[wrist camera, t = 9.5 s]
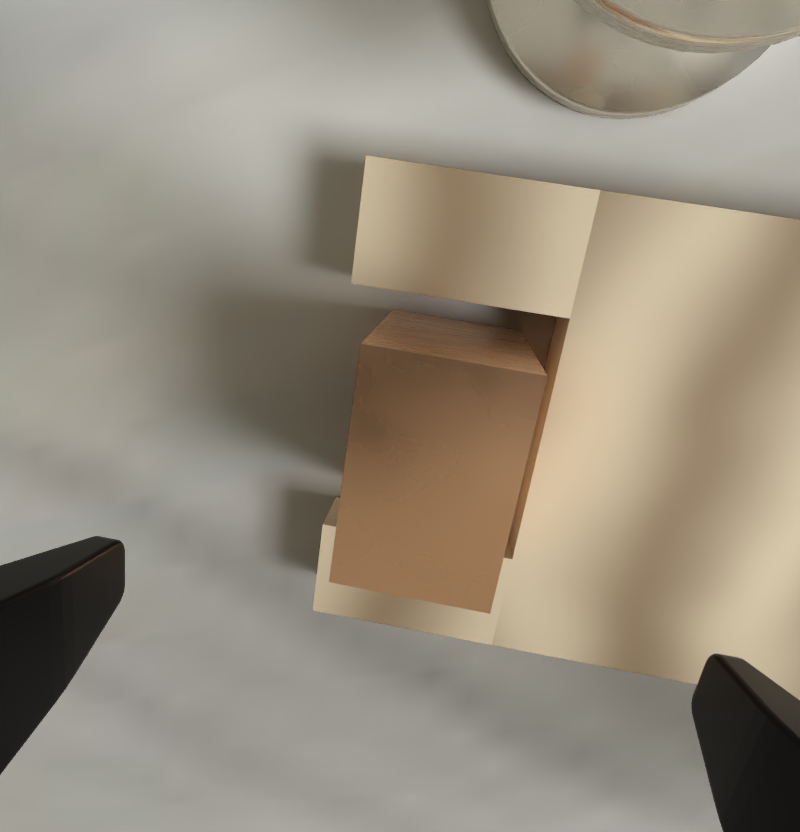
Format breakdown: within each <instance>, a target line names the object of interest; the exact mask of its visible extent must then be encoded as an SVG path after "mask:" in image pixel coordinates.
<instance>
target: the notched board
mask: <svg viewBox="0 0 800 832" xmlns="http://www.w3.org/2000/svg"><path fill="white" fill-rule="evenodd" d="M351 284H357V285H364V286H370V287H376V288H382V289H388V290H395V291H401V292H407V293H413V294H419V295H426V296H432V297H438V298H444V299H451V300H457V301H463V302H469V303H475V304H482V305H488V306H494V307H500V308H506V309H513V310H519V311H525V312H531V313H538V314H544V315H550V316H556V321H555V326H554V330H553V334H552V339H551V343H550V347H549V352H548V356H547V360H546V365H545V369H544V371H545V373H546V374H547V380H546V384H545V389H544V393H543V397H542V401H541V405H540V409H539V413H538V418H537V422H536V426H535V430H534V434H533V438H532V442H531V447H530V451H529V455H528V459H527V463H526V467H525V471H524V476H523V480H522V484H521V488H520V492H519V496H518V500H517V505H516V509H515V513H514V517H513V521H512V525H511V529H510V534H509V538H508V542H507V546H506V550H505V554H504V558H503V563H502V567H501V571H500V575H499V579H498V583H497V588H496V592H495V596H494V600H493V604H492V608H491V612H490V614H488V613H483V612H478V611H473V610H468V609H463V608H458V607H453V606H448V605H443V604H437V603H432V602H427V601H422V600H417V599H412V598H407V597H402V596H397V595H392V594H387V593H381V592H376V591H371V590H366V589H361V588H356V587H351V586H346V585H341V584H336V583H331V582H329V577H330V569H331V562H332V554H333V547H334V539H335V532H336V524H337V517H338V509H339V502H340V497H336V498H335V500H334V502H333V504H332V506H331V508H330V510H329V512H328V514H327V517H326V519H325V521H324V523H323V526H322V535H321V543H320V552H319V560H318V569H317V578H316V586H315V595H314V603H313V611H318V612H324V613H329V614H334V615H339V616H344V617H349V618H355V619H360V620H365V621H370V622H375V623H380V624H386V625H391V626H396V627H401V628H406V629H412V630H417V631H422V632H427V633H432V634H437V635H443V636H448V637H453V638H458V639H463V640H468V641H474V642H479V643H484V644H489V645H494V646H499V647H505V648H510V649H515V650H520V651H525V652H531V653H536V654H541V655H546V656H551V657H556V658H562V659H567V660H572V661H577V662H582V663H587V664H593V665H598V666H603V667H608V668H613V669H618V670H624V671H629V672H634V673H639V674H644V675H650V676H655V677H660V678H665V679H670V680H675V681H681V682H686V683H691V684H696V685H697V684H698V681H699V678H700V676H701V673H702V670H703V668H704V665H705V663H706V661H707V659H708V657H709V656H710V655H712V654H715V653H717V654H723V655H728V656H734V657H739V658H741V659H744V660H745V661H747V662H748V663H749V664H751V665H752V666H754V667H755V668H756V669H758V670H759V671H760V672H762V673H763V674H765V675H766V676H767V677H769V678H770V679H771V680H773V681H774V682H775V683H777V684H778V685H780V686H781V687H782V688H784V689H785V690H786V691H788V692H789V693H791V694H792V695H793V696H795V697H796V698H797V699H799V700H800V220H798V219H791V218H785V217H778V216H771V215H765V214H758V213H751V212H744V211H738V210H731V209H724V208H717V207H711V206H704V205H697V204H690V203H684V202H677V201H670V200H663V199H657V198H650V197H643V196H636V195H630V194H623V193H616V192H609V191H603V190H596V189H589V188H582V187H576V186H569V185H562V184H556V183H549V182H542V181H535V180H529V179H522V178H515V177H508V176H502V175H495V174H488V173H481V172H475V171H468V170H461V169H454V168H448V167H441V166H434V165H427V164H421V163H414V162H407V161H400V160H394V159H387V158H380V157H373V156H367V155H366V159H365V168H364V176H363V185H362V193H361V202H360V211H359V219H358V228H357V236H356V245H355V253H354V262H353V270H352V279H351Z"/></svg>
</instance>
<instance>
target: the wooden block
mask: <svg viewBox="0 0 800 832" xmlns="http://www.w3.org/2000/svg"><path fill="white" fill-rule="evenodd" d="M546 380H547V374H546V373H545V371H544V369H543V367H542V366H541V364H540V362H539V361H538V359H537V357H536V356H535V354H534V352H533V351H532V349H531V347H530V346H529V344H528V342H527V341H526V339H525V337H524V336H523V334H522V332H521V331H518V330H512V329H506V328H500V327H494V326H488V325H482V324H476V323H471V322H465V321H459V320H453V319H447V318H441V317H435V316H429V315H423V314H418V313H412V312H406V311H400V310H394V309H393V310H392V311H391V312H390V313H389V314H388V315H387V316H386V317H385V318H384V319H383V320H382V322H381V323H380V324H379V325H378V326H377V327H376V328H375V329H374V330H373V331H372V332H371V333H370V334H369V335H368V336H367V337H366V338H365V339H364V341H363V342H362V343H361V345H360V352H359V360H358V367H357V375H356V382H355V390H354V397H353V405H352V412H351V420H350V427H349V435H348V442H347V450H346V457H345V465H344V472H343V479H342V487H341V494H340V502H339V509H338V517H337V524H336V532H335V539H334V547H333V554H332V562H331V569H330V577H329V582H331V583H336V584H341V585H346V586H351V587H356V588H361V589H366V590H371V591H376V592H381V593H387V594H392V595H397V596H402V597H407V598H412V599H417V600H422V601H427V602H432V603H437V604H443V605H448V606H453V607H458V608H463V609H468V610H473V611H478V612H483V613H488V614H490V612H491V608H492V604H493V600H494V596H495V592H496V588H497V583H498V579H499V575H500V571H501V567H502V563H503V558H504V554H505V550H506V546H507V542H508V538H509V534H510V529H511V525H512V521H513V517H514V513H515V509H516V505H517V500H518V496H519V492H520V488H521V484H522V480H523V476H524V471H525V467H526V463H527V459H528V455H529V451H530V447H531V442H532V438H533V434H534V430H535V426H536V422H537V418H538V413H539V409H540V405H541V401H542V397H543V393H544V389H545V384H546Z"/></svg>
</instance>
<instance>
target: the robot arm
mask: <svg viewBox="0 0 800 832" xmlns="http://www.w3.org/2000/svg"><path fill="white" fill-rule="evenodd" d="M124 588H125V549H124V545H123V543H122V542H121V541H120V540H116V539H110V538H105V537H100V536H94V537H91V538H87V539H84V540H81V541H78V542H75V543H71V544H68V545H65V546H62V547H59V548H55V549H52V550H49V551H46V552H42V553H39V554H36V555H33V556H30V557H26V558H23V559H20V560H17V561H14V562H10V563H7V564H4V565H1V566H0V774H1V773H2V772H3V771H4V769H5V768H6V767H7V765H8V764H9V763H10V761H11V760H12V759H13V757H14V756H15V755H16V754H17V752H18V751H19V750H20V748H21V747H22V746H23V744H24V743H25V742H26V740H27V739H28V738H29V737H30V735H31V734H32V733H33V731H34V730H35V729H36V727H37V726H38V725H39V723H40V722H41V721H42V720H43V718H44V717H45V716H46V714H47V713H48V712H49V710H50V709H51V708H52V706H53V705H54V704H55V703H56V701H57V700H58V698H59V697H60V696H61V694H62V693H63V692H64V690H65V689H66V687H67V686H68V684H69V683H70V681H71V680H72V678H73V677H74V675H75V674H76V672H77V671H78V669H79V667H80V666H81V664H82V662H83V661H84V659H85V658H86V656H87V654H88V653H89V651H90V650H91V648H92V646H93V645H94V643H95V641H96V640H97V638H98V637H99V635H100V633H101V632H102V630H103V629H104V627H105V625H106V624H107V622H108V620H109V619H110V617H111V616H112V614H113V612H114V611H115V609H116V608H117V606H118V604H119V603H120V601H121V598H122V596H123V593H124ZM692 714H693V719H694V723H695V727H696V731H697V735H698V739H699V743H700V747H701V751H702V755H703V759H704V762H705V766H706V770H707V774H708V778H709V782H710V786H711V790H712V794H713V798H714V802H715V806H716V809H717V813H718V816H719V820H720V823H721V826H722V829H723V832H800V700H799V699H797V698H796V697H795V696H793V695H792V694H791V693H789V692H788V691H786V690H785V689H784V688H782V687H781V686H780V685H778V684H777V683H775V682H774V681H773V680H771V679H770V678H769V677H767V676H766V675H765V674H763V673H762V672H760V671H759V670H758V669H756V668H755V667H754V666H752V665H751V664H749V663H748V662H747V661H745V660H744V659H741V658H739V657H734V656H728V655H723V654H717V653H715V654H712V655H710V656H709V657H708V659H707V661H706V663H705V665H704V668H703V670H702V673H701V676H700V678H699V681H698V684H697V686H696V689H695V691H694V694H693V697H692Z"/></svg>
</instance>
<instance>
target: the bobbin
mask: <svg viewBox="0 0 800 832" xmlns="http://www.w3.org/2000/svg"><path fill="white" fill-rule="evenodd" d="M487 2H488V6H489V10H490V15H491V18H492V20H493V23H494V26H495V28H496V31H497V34H498V36H499V38H500V40H501V42H502V44H503V46H504V48H505V50H506V51H507V53H508V55H509V56H510V58H511V59H512V61H513V62H514V63H515V65H516V66H517V68H518V69H519V70H520V72H521V73H522V74H523V75H524V76H525V77H526V78H527V79H528V80H529V81H530V82H531V83H532V84H533V85H534V86H535V87H536V88H538V89H539V90H540V91H542V92H543V93H544V94H545V95H547V96H548V97H549V98H551V99H553V100H555V101H556V102H558V103H560V104H562V105H564V106H565V107H568V108H570V109H573V110H576V111H578V112H581V113H584V114H588V115H593V116H597V117H602V118H615V119H629V118H643V117H647V116H652V115H657V114H662V113H665V112H668V111H670V110H673V109H676V108H679V107H682V106H684V105H686V104H688V103H690V102H692V101H694V100H696V99H698V98H700V97H702V96H704V95H706V94H708V93H709V92H711V91H713V90H715V89H716V88H718V87H720V86H721V85H723V84H724V83H726V82H727V81H729V80H730V79H732V78H733V77H735V76H736V75H738V74H739V73H741V72H742V71H743V70H744V69H745V68H747V67H748V66H749V65H750V64H752V63H753V62H754V61H755V60H756V59H758V58H759V57H760V56H761V55H762V54H763V53H764V52H765V51H766V50H767V49H768V47H769V46H770V45H774V44H778V43H781V42H783V41H786V40H789V39H792V38H795V37H797V36H800V0H487Z"/></svg>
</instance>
